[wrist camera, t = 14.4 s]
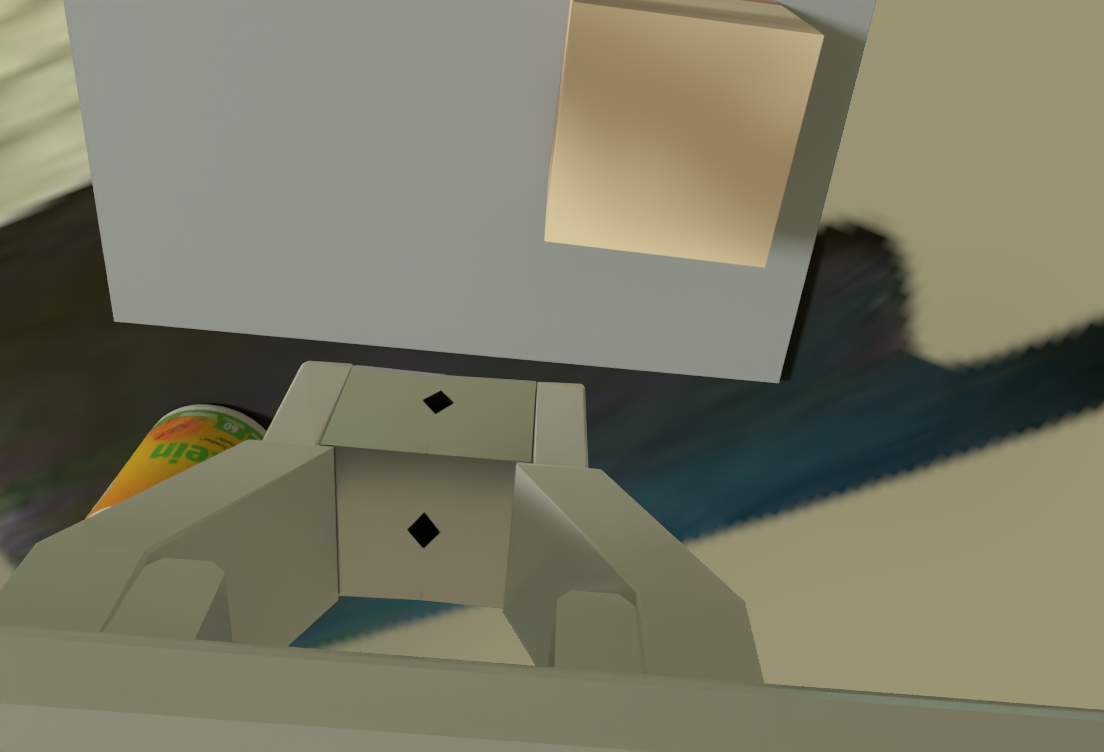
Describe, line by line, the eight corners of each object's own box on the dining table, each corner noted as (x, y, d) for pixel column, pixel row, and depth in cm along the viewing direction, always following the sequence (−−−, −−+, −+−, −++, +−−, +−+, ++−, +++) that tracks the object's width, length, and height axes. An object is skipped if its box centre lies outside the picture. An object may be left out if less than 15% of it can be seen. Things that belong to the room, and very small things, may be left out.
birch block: (824, 35, 22) (774, 0, 27) (573, 1, 21) (572, -27, 27) (765, 267, 25) (730, 195, 30) (544, 241, 24) (548, 173, 30)
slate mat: (10, -395, 23) (-1, -400, 23) (942, -285, 24) (949, -288, 23) (120, 315, 33) (114, 321, 32) (775, 376, 34) (778, 383, 33)
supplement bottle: (301, 427, 35) (216, 607, 27) (269, 528, 38) (182, 722, 29) (162, 380, 34) (28, 551, 26) (138, 487, 37) (9, 674, 28)
